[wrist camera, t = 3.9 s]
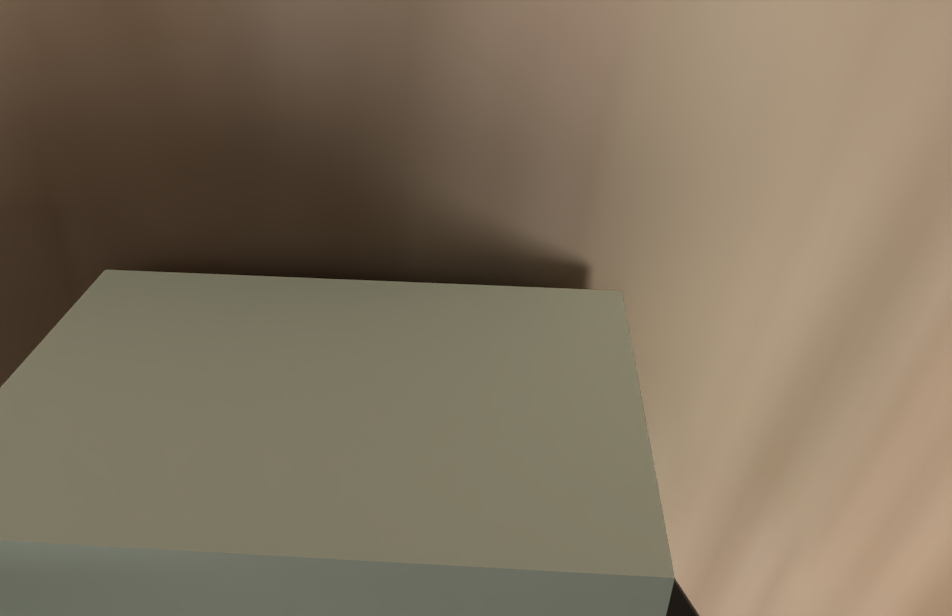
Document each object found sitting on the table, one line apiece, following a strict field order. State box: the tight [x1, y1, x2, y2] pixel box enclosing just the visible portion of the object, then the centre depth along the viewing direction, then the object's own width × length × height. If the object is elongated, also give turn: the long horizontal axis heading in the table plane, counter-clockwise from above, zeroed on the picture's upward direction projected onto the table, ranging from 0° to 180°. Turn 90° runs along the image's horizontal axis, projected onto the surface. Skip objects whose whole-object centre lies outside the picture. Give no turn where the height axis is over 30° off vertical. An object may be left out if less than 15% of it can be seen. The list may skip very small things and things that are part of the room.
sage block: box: [0, 270, 675, 616], centre depth 8 cm, size 6×6×4 cm
